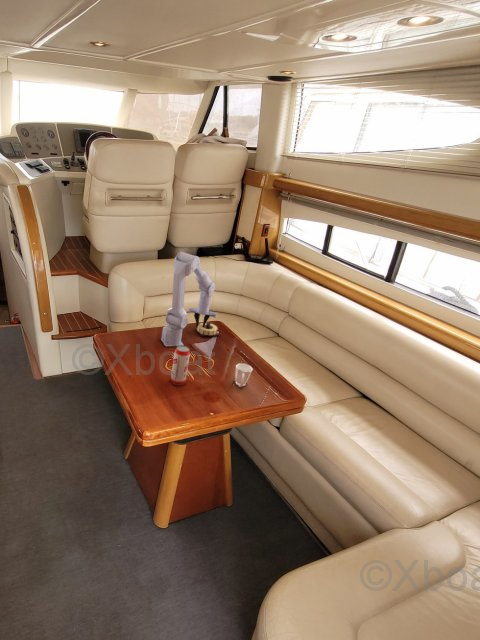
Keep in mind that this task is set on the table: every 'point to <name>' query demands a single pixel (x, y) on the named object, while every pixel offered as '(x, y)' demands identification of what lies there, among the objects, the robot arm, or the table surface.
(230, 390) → the table surface
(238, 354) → the table surface
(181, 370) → the beer can
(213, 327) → the yellow gear ring
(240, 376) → the cup
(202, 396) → the table surface
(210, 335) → the stand
